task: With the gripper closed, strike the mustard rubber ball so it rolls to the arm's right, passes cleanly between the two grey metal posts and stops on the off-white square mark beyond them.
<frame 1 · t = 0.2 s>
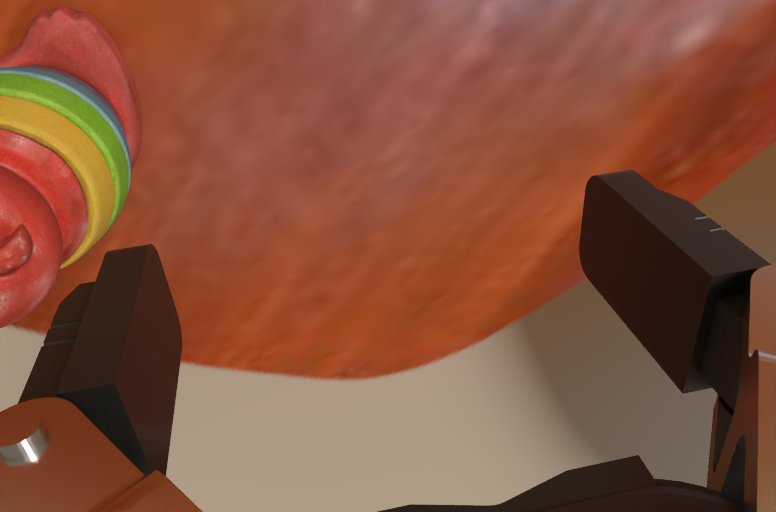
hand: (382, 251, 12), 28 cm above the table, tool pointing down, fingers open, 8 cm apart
stacking bear: (56, 116, 37), on the table
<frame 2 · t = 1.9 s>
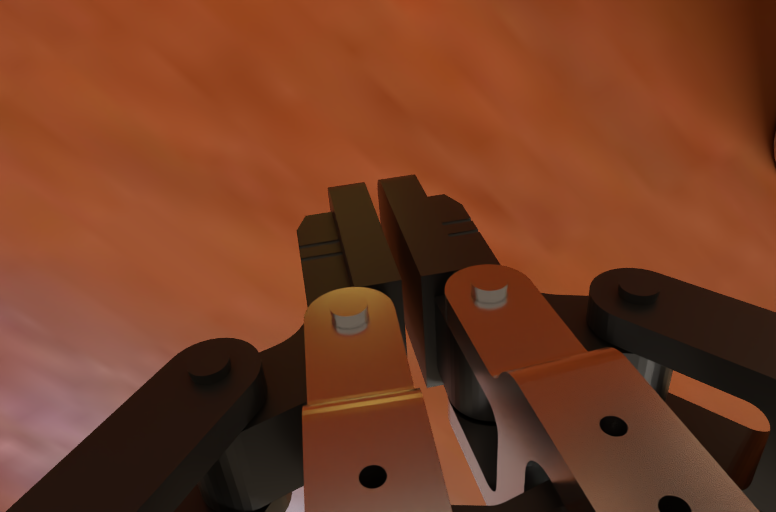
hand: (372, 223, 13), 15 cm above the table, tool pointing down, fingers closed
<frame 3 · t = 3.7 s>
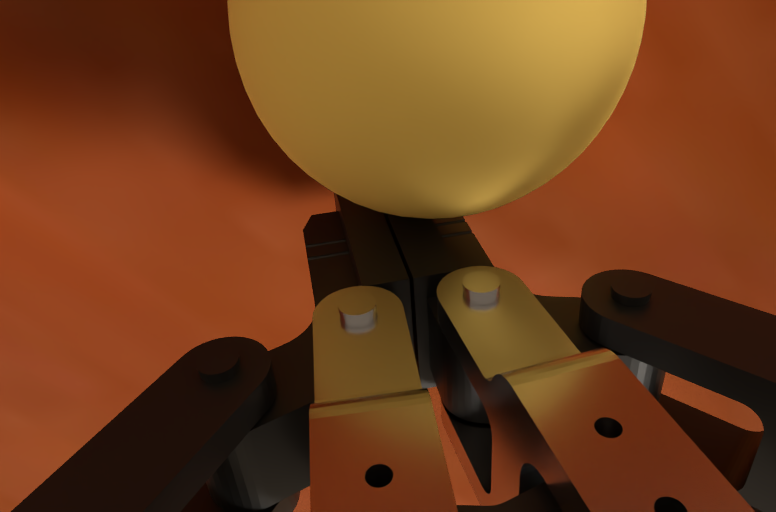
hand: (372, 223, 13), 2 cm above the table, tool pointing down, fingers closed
ball: (432, 19, 10), on the table, touching gripper
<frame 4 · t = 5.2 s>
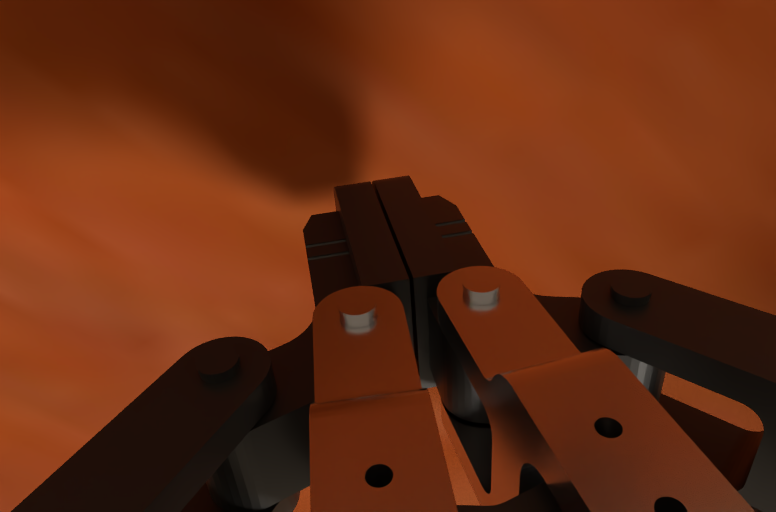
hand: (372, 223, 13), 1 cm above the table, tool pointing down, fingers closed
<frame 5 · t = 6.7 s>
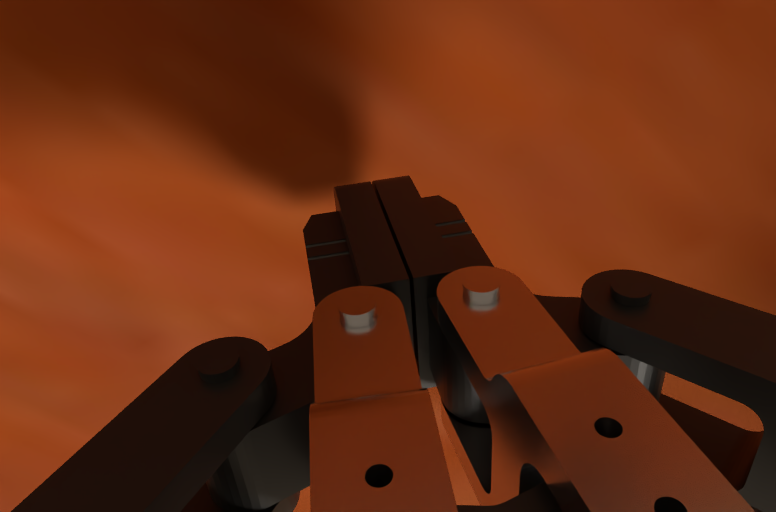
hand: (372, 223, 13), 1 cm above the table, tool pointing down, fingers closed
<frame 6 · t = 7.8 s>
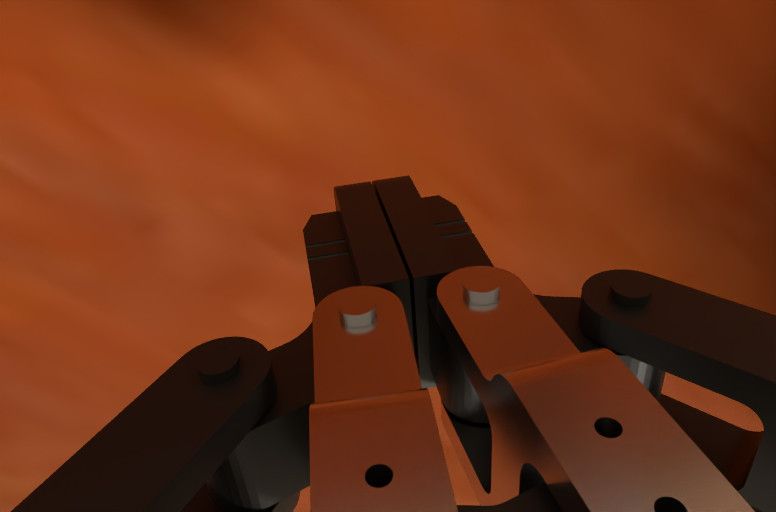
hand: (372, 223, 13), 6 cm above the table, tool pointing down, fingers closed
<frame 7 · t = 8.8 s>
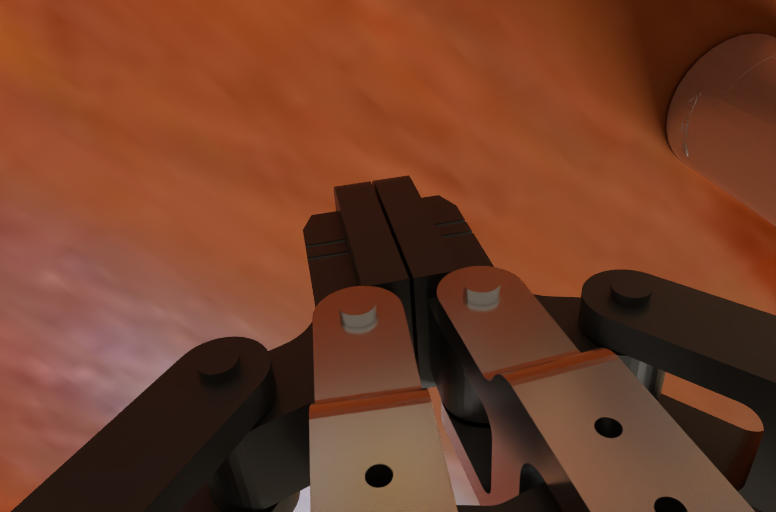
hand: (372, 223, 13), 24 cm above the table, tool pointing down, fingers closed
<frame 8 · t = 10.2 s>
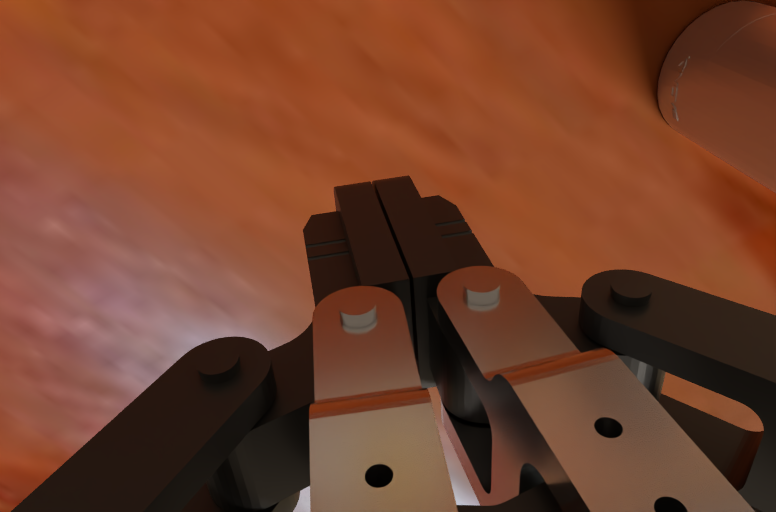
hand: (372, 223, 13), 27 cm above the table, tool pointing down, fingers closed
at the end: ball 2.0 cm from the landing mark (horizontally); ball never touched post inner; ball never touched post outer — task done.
